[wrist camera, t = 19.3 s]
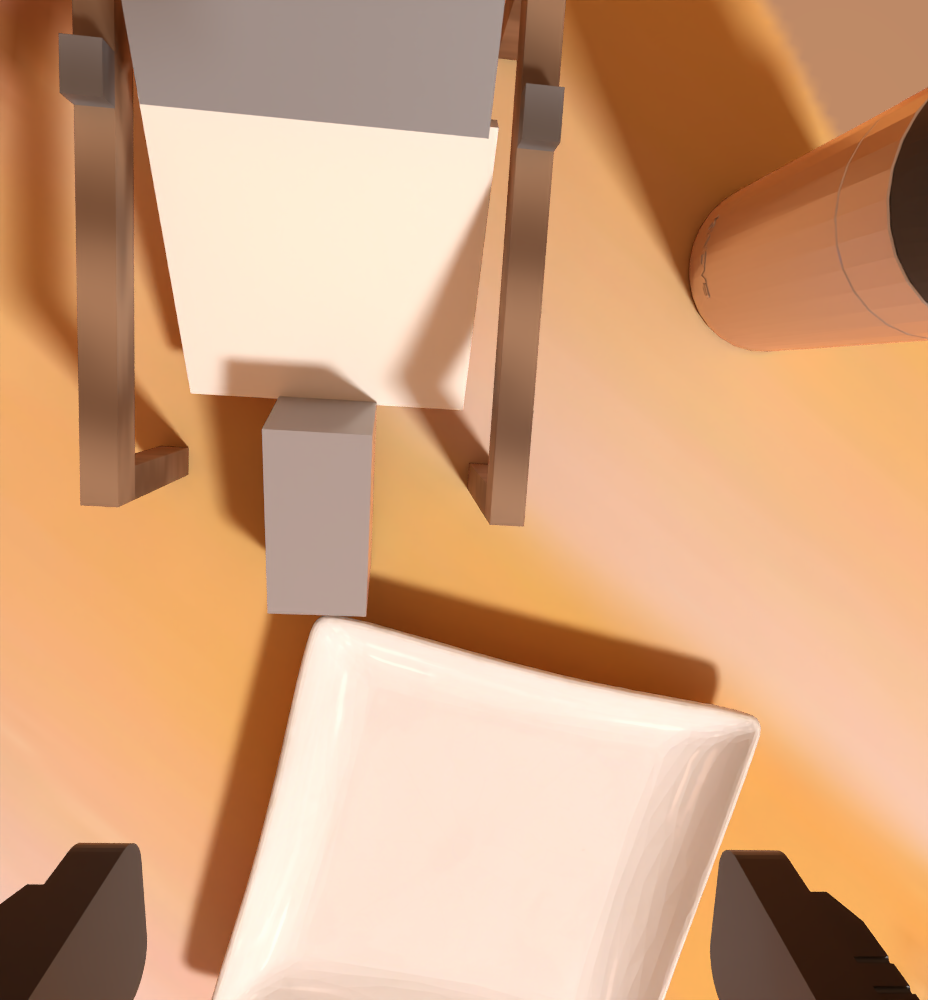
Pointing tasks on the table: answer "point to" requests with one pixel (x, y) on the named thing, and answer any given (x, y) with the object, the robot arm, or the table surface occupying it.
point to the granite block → (318, 505)
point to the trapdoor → (321, 189)
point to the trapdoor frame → (110, 257)
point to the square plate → (479, 830)
